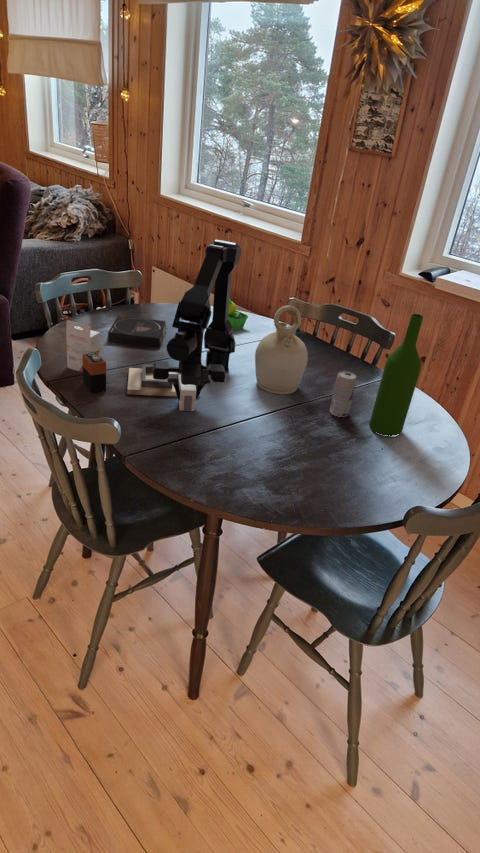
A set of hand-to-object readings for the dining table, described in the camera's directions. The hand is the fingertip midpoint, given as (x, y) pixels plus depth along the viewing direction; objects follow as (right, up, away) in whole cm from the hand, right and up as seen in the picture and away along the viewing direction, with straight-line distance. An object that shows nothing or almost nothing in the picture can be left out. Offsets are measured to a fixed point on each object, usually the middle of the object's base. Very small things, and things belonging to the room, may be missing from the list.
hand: (186, 400), depth 152 cm
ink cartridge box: (-31, +10, +13) cm, 35 cm away
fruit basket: (+10, +30, +59) cm, 67 cm away
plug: (0, -1, +1) cm, 2 cm away
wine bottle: (+54, -8, +3) cm, 55 cm away
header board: (-8, +5, +10) cm, 14 cm away
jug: (+25, +5, +18) cm, 32 cm away
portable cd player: (-20, +23, +40) cm, 50 cm away
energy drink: (+42, -3, +7) cm, 43 cm away
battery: (-26, +3, +3) cm, 26 cm away
